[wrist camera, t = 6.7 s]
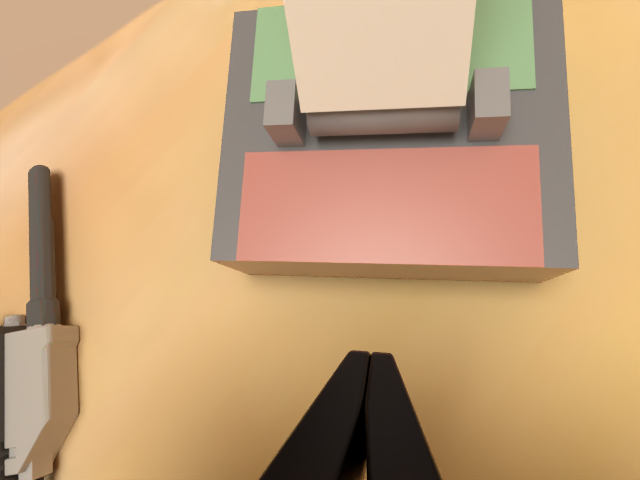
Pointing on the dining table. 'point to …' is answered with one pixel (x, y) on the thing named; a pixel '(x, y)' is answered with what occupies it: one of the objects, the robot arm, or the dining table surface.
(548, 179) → the breaker housing
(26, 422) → the walkie-talkie
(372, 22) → the breaker lever
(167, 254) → the dining table surface
